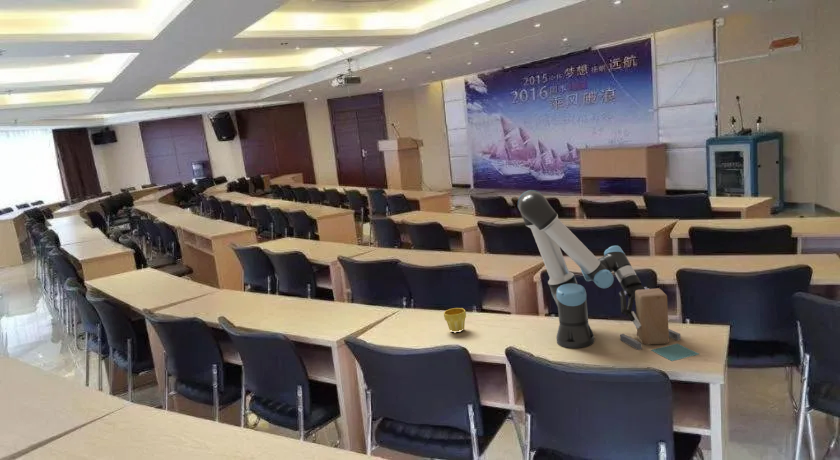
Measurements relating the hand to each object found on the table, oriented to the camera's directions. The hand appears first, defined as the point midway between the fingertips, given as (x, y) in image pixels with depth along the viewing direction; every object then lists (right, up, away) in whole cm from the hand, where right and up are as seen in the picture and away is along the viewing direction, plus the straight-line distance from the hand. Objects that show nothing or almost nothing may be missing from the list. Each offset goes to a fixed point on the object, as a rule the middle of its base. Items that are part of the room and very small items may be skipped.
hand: (653, 324), depth 218 cm
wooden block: (+1, -7, +2) cm, 7 cm away
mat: (+4, -9, -10) cm, 14 cm away
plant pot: (-75, -11, +43) cm, 87 cm away
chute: (0, -7, +4) cm, 8 cm away
